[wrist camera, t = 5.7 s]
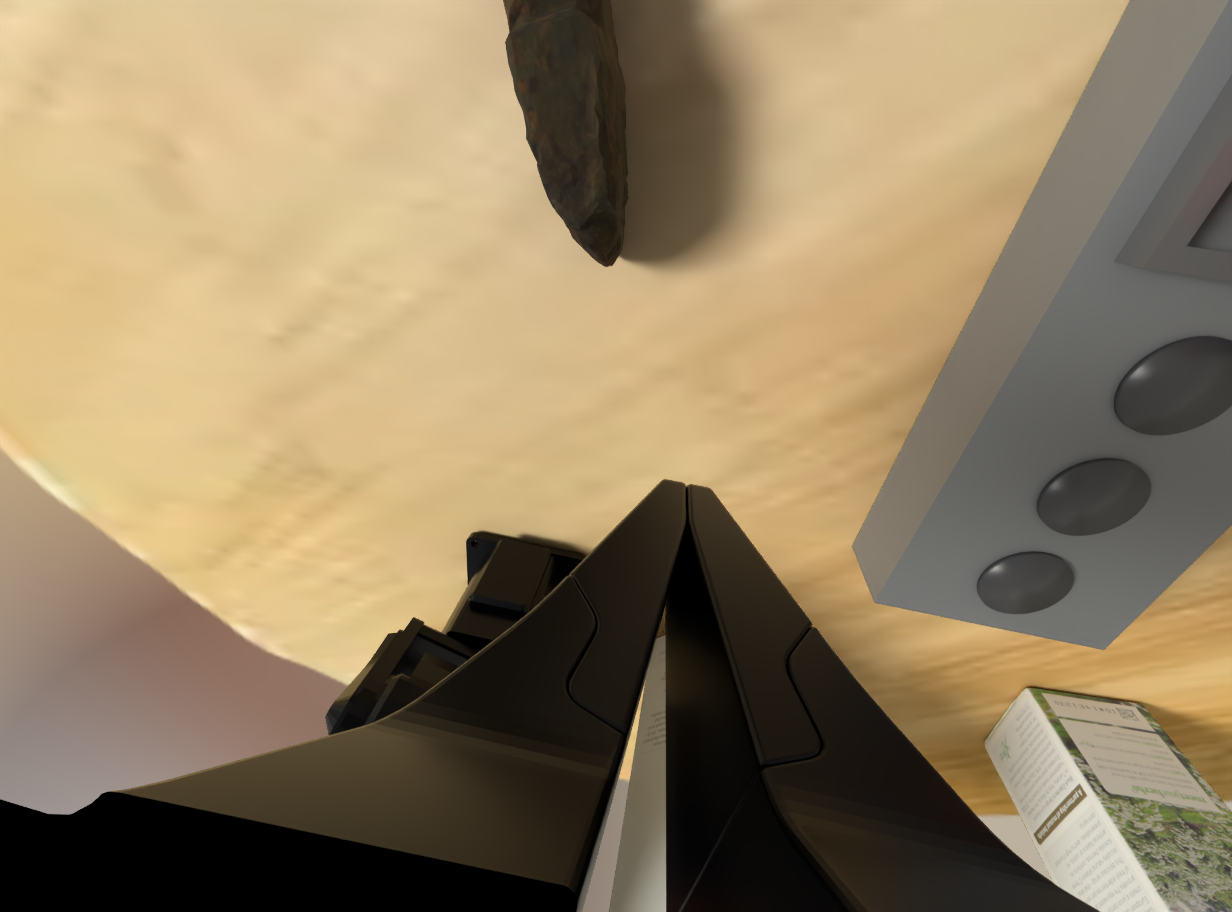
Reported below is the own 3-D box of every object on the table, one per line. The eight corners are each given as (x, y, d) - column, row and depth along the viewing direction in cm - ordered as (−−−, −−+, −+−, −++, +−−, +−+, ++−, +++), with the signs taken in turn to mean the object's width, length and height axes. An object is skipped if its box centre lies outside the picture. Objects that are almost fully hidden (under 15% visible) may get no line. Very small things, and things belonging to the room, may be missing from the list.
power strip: (1050, 585, 22) (1122, 672, 18) (851, 546, 23) (882, 622, 19) (1634, -109, 11) (2141, -261, 7) (1208, -154, 11) (1463, -317, 8)
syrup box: (978, 743, 29) (1189, 1182, 16) (1024, 680, 26) (1327, 1161, 13) (1085, 760, 28) (1391, 1232, 16) (1146, 697, 25) (1585, 1221, 12)
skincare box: (810, 687, 28) (897, 1107, 16) (723, 715, 31) (737, 1095, 18) (727, 598, 26) (750, 1012, 13) (639, 637, 28) (588, 1014, 16)
